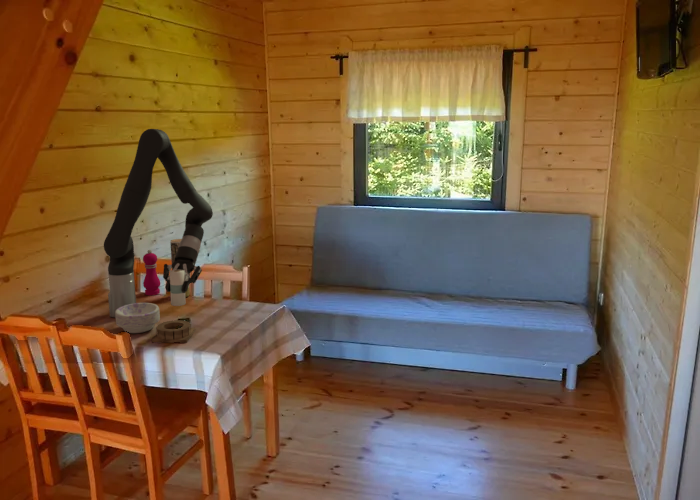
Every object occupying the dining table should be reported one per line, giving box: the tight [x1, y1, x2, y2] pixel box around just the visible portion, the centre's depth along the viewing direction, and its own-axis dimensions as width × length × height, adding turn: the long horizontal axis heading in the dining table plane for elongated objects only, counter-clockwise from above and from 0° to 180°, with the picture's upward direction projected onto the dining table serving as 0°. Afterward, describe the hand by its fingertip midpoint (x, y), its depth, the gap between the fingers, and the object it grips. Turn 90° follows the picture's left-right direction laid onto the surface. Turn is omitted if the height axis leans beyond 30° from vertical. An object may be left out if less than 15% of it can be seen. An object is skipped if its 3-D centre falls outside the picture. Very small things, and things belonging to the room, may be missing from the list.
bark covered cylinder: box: [169, 238, 191, 298], centre depth 251 cm, size 7×7×25 cm
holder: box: [151, 319, 196, 344], centre depth 206 cm, size 12×12×4 cm
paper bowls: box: [115, 302, 161, 334], centre depth 213 cm, size 15×15×8 cm
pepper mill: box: [142, 249, 161, 296], centre depth 255 cm, size 7×7×20 cm
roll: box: [169, 269, 187, 307], centre depth 205 cm, size 5×5×12 cm
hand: (175, 291), depth 203 cm, fingers closed on roll, 5 cm apart
